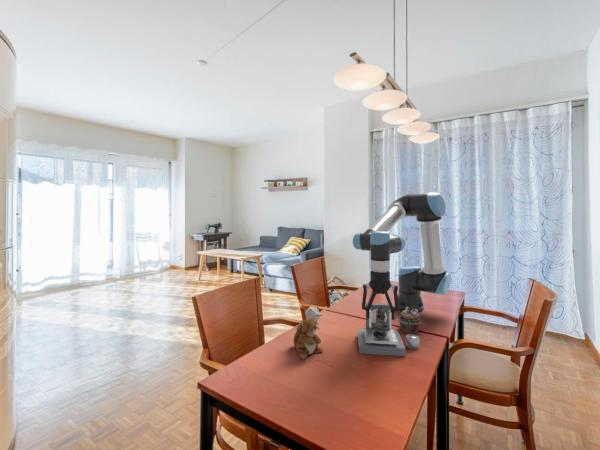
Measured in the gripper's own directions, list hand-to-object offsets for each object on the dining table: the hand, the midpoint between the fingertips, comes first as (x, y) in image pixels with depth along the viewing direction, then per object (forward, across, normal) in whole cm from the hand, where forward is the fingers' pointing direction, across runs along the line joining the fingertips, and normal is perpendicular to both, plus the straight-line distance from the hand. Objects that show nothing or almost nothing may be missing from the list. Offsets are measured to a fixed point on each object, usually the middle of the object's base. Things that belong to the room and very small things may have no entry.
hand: (380, 326), depth 117 cm
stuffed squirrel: (+9, +30, +7) cm, 31 cm away
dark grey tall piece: (+3, 0, 0) cm, 3 cm away
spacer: (+8, -13, -2) cm, 16 cm away
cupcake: (+8, -15, -20) cm, 27 cm away
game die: (+8, +30, -22) cm, 38 cm away
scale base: (+8, 0, -2) cm, 8 cm away
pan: (+5, 0, 0) cm, 5 cm away
